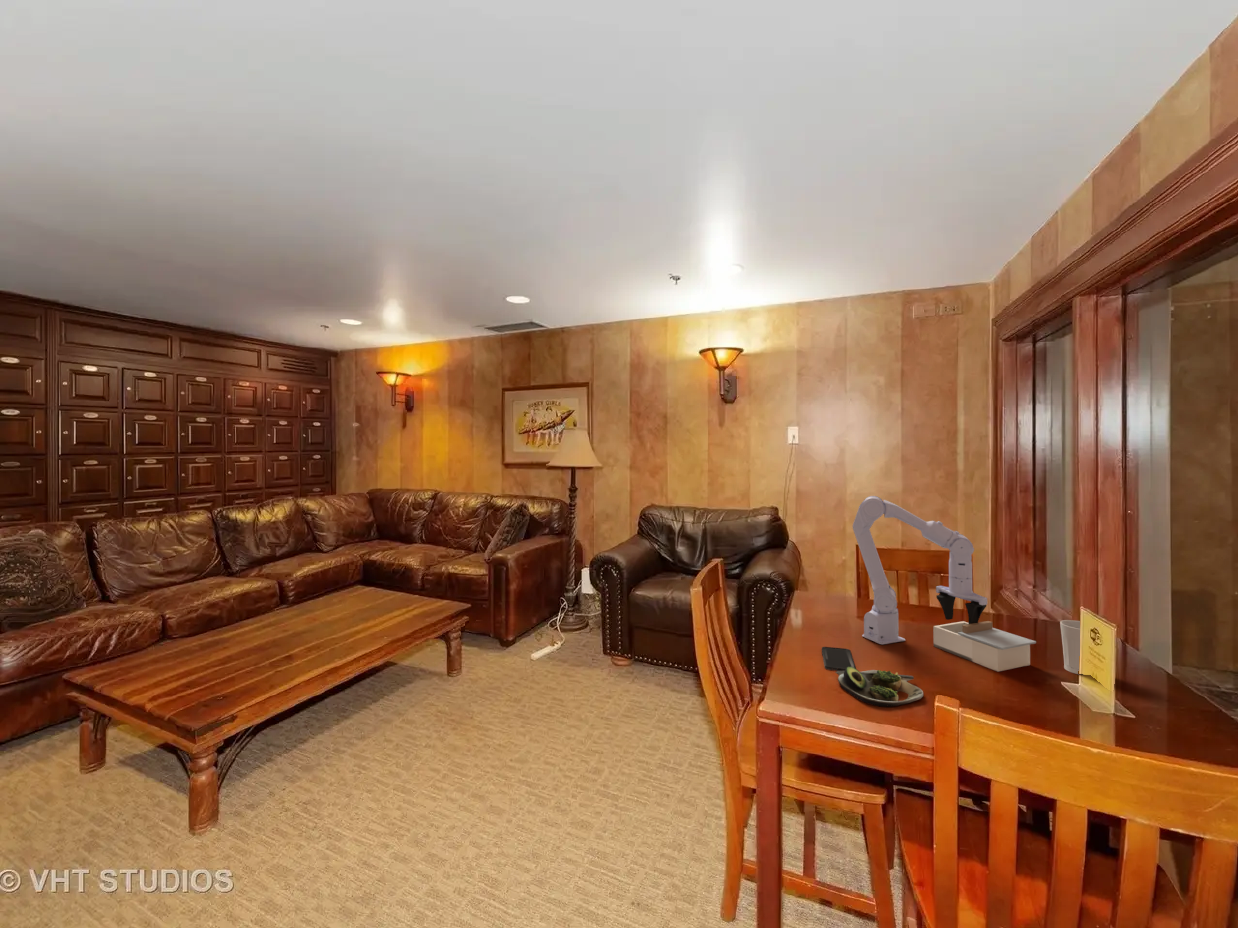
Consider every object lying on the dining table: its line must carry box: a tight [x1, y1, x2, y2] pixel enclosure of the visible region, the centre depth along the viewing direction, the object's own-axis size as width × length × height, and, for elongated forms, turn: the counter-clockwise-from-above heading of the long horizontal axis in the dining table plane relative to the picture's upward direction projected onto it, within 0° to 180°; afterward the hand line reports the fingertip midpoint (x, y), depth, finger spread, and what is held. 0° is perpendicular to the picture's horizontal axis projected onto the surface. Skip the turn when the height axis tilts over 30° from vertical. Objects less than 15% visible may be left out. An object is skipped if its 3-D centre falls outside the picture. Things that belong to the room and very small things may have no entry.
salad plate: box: [834, 667, 924, 708], centre depth 128 cm, size 19×18×5 cm
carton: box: [932, 620, 1031, 672], centre depth 147 cm, size 12×19×6 cm, turn 18°
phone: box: [821, 646, 857, 672], centre depth 146 cm, size 8×1×15 cm
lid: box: [958, 620, 1037, 650], centre depth 142 cm, size 12×12×2 cm
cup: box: [1059, 619, 1081, 675], centre depth 135 cm, size 8×8×12 cm
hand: (960, 622), depth 152 cm, fingers open, 7 cm apart
